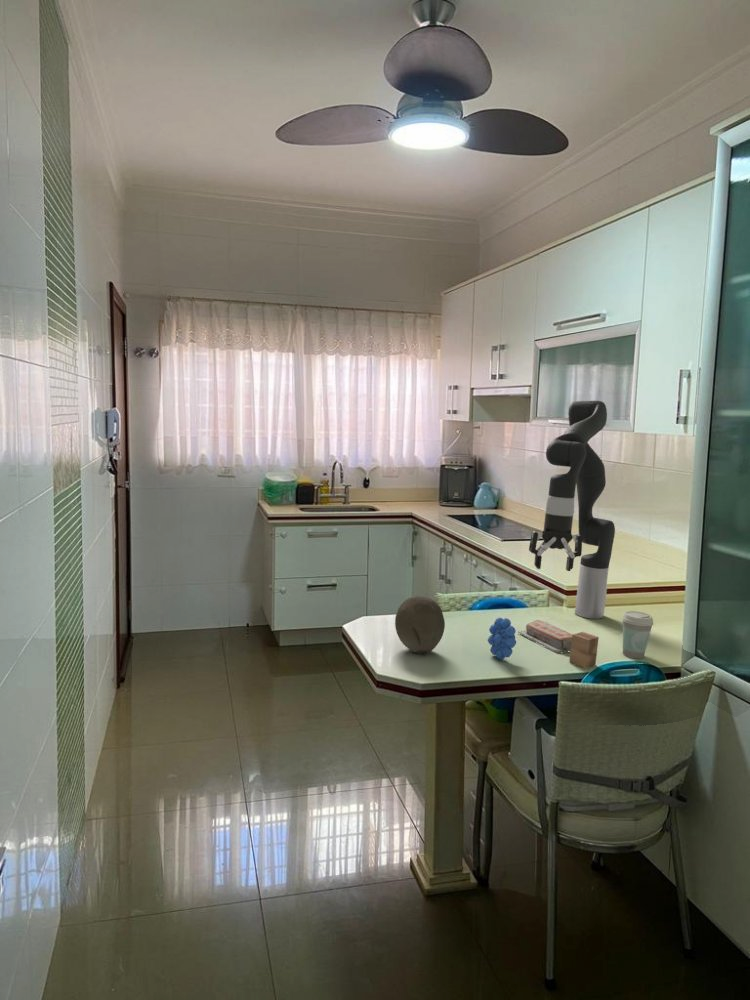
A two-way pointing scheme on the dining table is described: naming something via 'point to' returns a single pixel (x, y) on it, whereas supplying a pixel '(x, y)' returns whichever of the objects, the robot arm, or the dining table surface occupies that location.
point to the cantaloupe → (420, 624)
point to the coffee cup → (636, 633)
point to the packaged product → (548, 636)
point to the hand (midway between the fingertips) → (553, 569)
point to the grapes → (502, 638)
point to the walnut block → (583, 649)
